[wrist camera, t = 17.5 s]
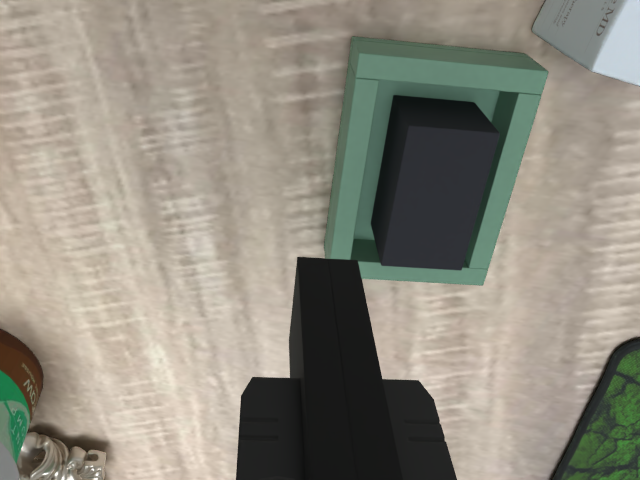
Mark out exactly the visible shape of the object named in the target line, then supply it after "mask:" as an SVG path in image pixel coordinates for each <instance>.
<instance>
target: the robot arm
mask: <svg viewBox="0 0 640 480" xmlns="http://www.w3.org/2000/svg"><path fill="white" fill-rule="evenodd" d="M289 356H290V378H266V377H252V379H251V380H250V382H249V384H248V385H247V387H246V389H245V390H244V392H243V394H242V395H241V407H240V424H239V440H238V457H237V473H236V480H457V478H456V475H455V471H454V468H453V465H452V461H451V458H450V454H449V451H448V447H447V444H446V442H445V441H444V438H445V437H444V434H443V430H442V427H441V424H440V423H439V417H438V413H437V410H436V406H435V403H434V399H433V398H432V397H431V395H430V394H429V393H428V392H427V390H426V389H425V388H424V387H423V385H422V384H421V383H420V382H419V380H387V379H382V376H381V371H380V366H379V361H378V356H377V351H376V346H375V342H374V337H373V332H372V327H371V322H370V317H369V312H368V308H367V303H366V298H365V293H364V288H363V283H362V278H361V274H360V269H359V264H358V260H346V259H326V258H306V257H297V267H296V277H295V287H294V297H293V307H292V317H291V326H290V336H289Z"/></svg>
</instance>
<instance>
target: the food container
mask: <svg viewBox="0 0 640 480" xmlns="http://www.w3.org/2000/svg"><path fill="white" fill-rule="evenodd" d="M42 388H43V373H42V368H41V366H40V364H39V362H38V360H37V358H36V357H35V355H34V354H33V353H32V351H31V350H30V349H29V348H28V347H27V346H26V345H25V344H23V343H22V342H21V341H20V340H18V339H17V338H15V337H14V336H12V335H10V334H9V333H7V332H5V331H3V330H1V329H0V480H19V472H18V469H17V465H16V463H17V460H18V457H19V455H20V452H21V449H22V446H23V443H24V440H25V437H26V434H27V431H28V428H29V425H30V423H31V420H32V417H33V414H34V411H35V408H36V405H37V402H38V399H39V396H40V393H41V390H42Z"/></svg>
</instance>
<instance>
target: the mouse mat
mask: <svg viewBox="0 0 640 480" xmlns="http://www.w3.org/2000/svg"><path fill="white" fill-rule="evenodd" d="M553 480H640V339H636V340H634V341H630V342H628V343H626V344H624V345H623V346H621V347H620V348H619V349H618V350H616V351H615V353H614V354H613V356H612V357H611V360H610V362H609V364H608V367H607V369H606V371H605V374H604V377H603V379H602V381H601V383H600V385H599V387H598V389H597V391H596V393H595V395H594V396H593V398H592V400H591V402H590V404H589V406H588V408H587V410H586V412H585V414H584V416H583V418H582V420H581V422H580V424H579V426H578V428H577V431H576V433H575V435H574V437H573V439H572V441H571V444H570V446H569V448H568V449H567V451H566V453H565V456H564V458H563V459H562V461H561V463H560V465H559V467H558V469H557V471H556V474H555V476H554V478H553Z"/></svg>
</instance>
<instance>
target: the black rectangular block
mask: <svg viewBox="0 0 640 480" xmlns="http://www.w3.org/2000/svg"><path fill="white" fill-rule="evenodd" d="M499 136H500V133H499V131H498V130H497V129H496V128H495V127H494V125H493V124H492V123H491V122H490V120H489V119H488V118H487V117H486V116H485V114H484V113H483V112H482V111H481V110H480V108H479V107H478V106H477V105H476V103H475V102H467V101H456V100H445V99H434V98H423V97H412V96H401V95H393V100H392V105H391V111H390V117H389V122H388V128H387V134H386V139H385V145H384V151H383V156H382V162H381V168H380V173H379V179H378V185H377V190H376V196H375V201H374V207H373V213H372V218H371V227H372V231H373V235H374V239H375V243H376V247H377V251H378V255H379V259H380V263H381V266H393V267H410V268H426V269H443V270H460V271H461V270H462V267H463V264H464V260H465V257H466V253H467V250H468V246H469V242H470V239H471V235H472V232H473V228H474V225H475V221H476V218H477V214H478V210H479V207H480V203H481V200H482V196H483V193H484V189H485V186H486V182H487V178H488V175H489V171H490V168H491V164H492V161H493V157H494V154H495V150H496V146H497V143H498V139H499Z"/></svg>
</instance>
